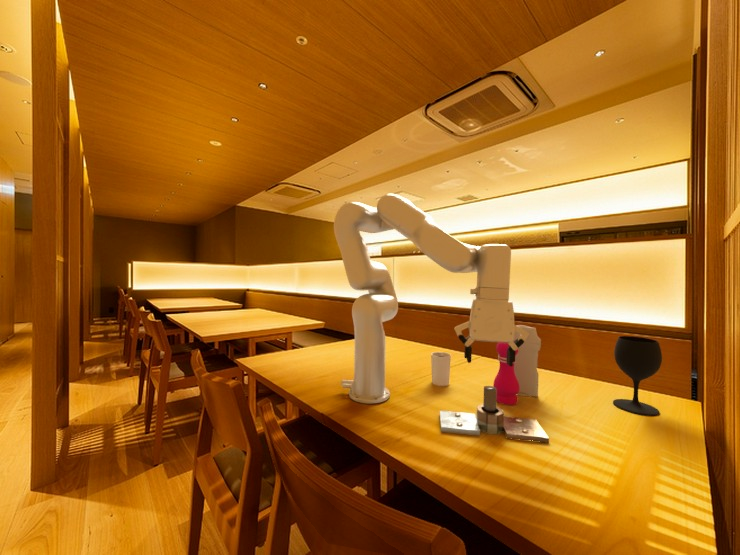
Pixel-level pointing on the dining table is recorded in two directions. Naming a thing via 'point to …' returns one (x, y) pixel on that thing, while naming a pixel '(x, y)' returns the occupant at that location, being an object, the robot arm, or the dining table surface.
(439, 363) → the paper coffee cup
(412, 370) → the dining table surface
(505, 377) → the pepper mill
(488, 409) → the hinge pin
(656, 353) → the wine glass
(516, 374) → the beige upright panel
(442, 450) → the dining table surface
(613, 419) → the dining table surface
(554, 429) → the dining table surface
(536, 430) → the hinge
